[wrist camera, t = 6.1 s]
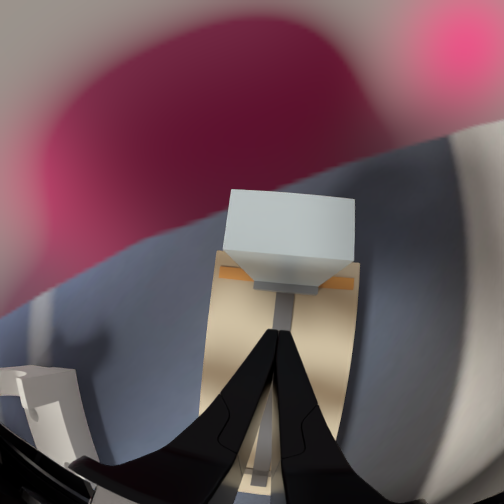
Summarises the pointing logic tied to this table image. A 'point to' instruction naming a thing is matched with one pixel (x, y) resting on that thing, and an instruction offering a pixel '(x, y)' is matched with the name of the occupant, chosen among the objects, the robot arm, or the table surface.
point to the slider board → (281, 318)
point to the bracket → (52, 411)
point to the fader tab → (289, 238)
